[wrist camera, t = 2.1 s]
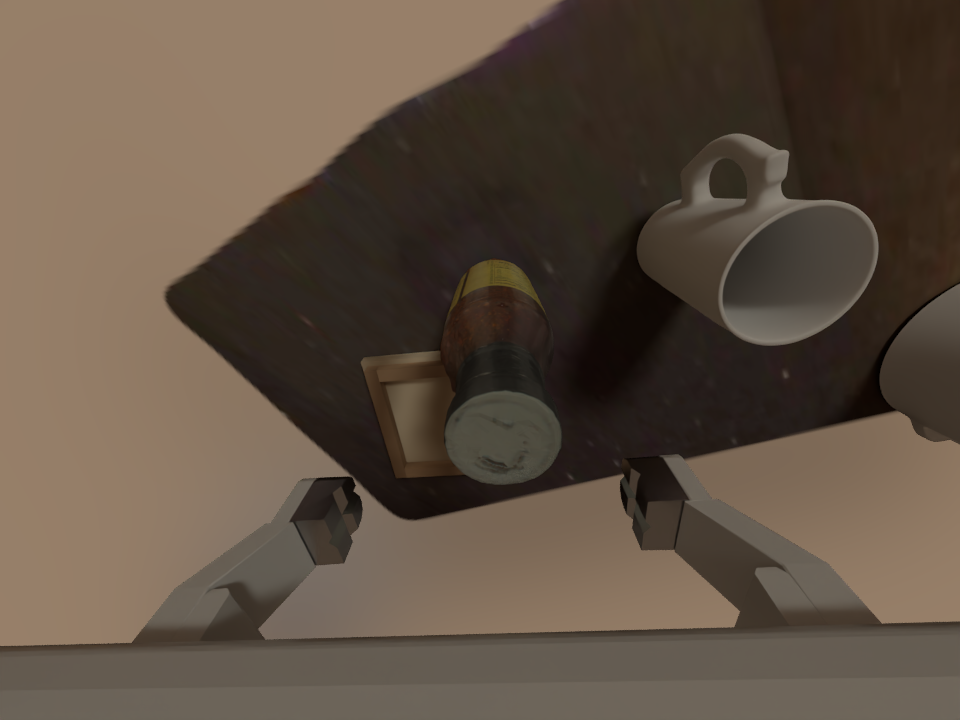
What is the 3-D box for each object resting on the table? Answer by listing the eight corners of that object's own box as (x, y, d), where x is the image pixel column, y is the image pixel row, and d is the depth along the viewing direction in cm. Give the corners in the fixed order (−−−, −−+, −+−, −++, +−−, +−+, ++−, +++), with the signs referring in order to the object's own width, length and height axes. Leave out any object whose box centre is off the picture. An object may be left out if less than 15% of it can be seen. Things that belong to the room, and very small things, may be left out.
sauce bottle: (490, 340, 31) (478, 541, 14) (443, 288, 29) (358, 443, 12) (549, 295, 29) (628, 463, 12) (503, 235, 27) (511, 328, 10)
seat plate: (512, 344, 31) (513, 353, 30) (522, 461, 38) (523, 475, 36) (364, 357, 33) (356, 367, 31) (397, 468, 39) (392, 481, 37)
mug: (725, 269, 28) (869, 323, 17) (639, 296, 29) (721, 361, 18) (718, 128, 24) (902, 81, 13) (618, 167, 25) (709, 152, 14)
